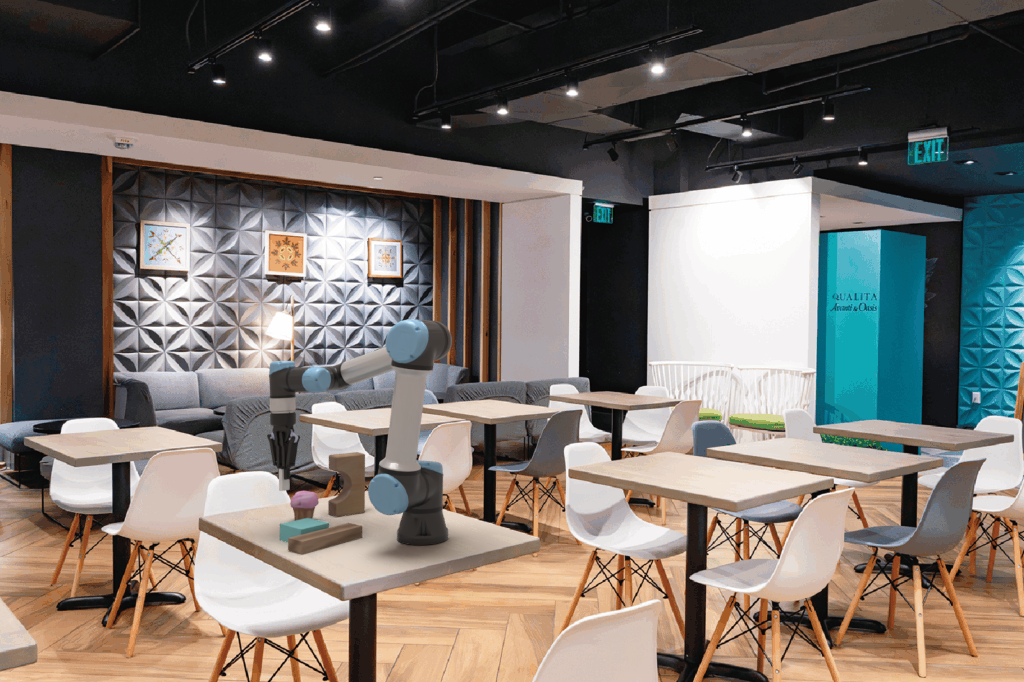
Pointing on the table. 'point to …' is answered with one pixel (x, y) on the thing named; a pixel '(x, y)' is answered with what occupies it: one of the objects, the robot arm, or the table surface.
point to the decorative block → (348, 484)
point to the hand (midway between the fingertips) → (284, 489)
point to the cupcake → (304, 504)
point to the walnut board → (324, 538)
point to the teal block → (300, 527)
